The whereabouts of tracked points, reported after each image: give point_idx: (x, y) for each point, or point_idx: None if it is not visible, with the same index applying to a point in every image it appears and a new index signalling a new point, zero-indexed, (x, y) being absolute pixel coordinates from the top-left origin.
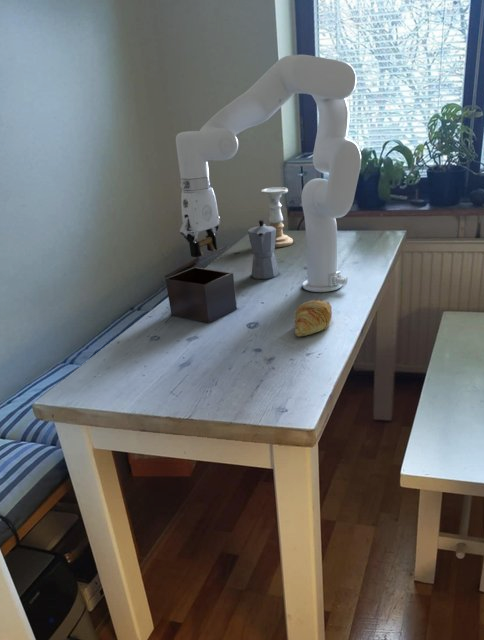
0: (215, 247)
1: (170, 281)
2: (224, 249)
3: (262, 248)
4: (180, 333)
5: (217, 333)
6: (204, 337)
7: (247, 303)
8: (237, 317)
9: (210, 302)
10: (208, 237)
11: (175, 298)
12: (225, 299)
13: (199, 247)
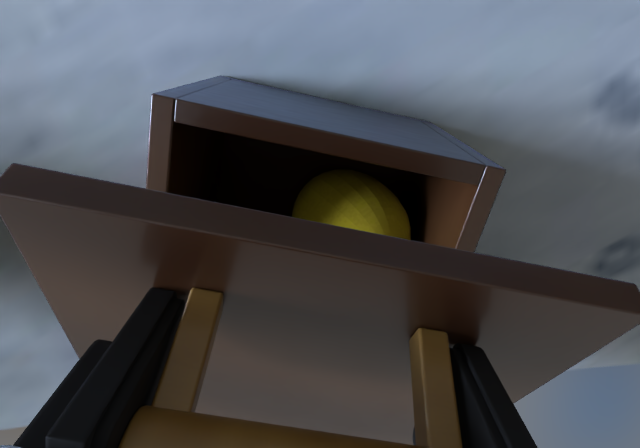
0: (159, 317)
1: None
2: (117, 187)
3: None
4: (564, 187)
5: (557, 7)
6: (610, 49)
7: (123, 57)
8: (329, 9)
9: (427, 133)
10: None
11: None
12: (295, 101)
13: (504, 432)
